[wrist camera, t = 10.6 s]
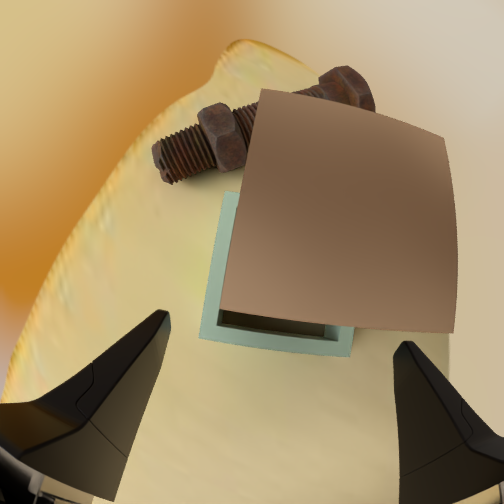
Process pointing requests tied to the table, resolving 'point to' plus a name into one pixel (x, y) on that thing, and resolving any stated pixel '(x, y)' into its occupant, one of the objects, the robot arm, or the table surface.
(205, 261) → the table surface
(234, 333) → the collar
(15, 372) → the table surface
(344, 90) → the bolt
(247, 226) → the peg
